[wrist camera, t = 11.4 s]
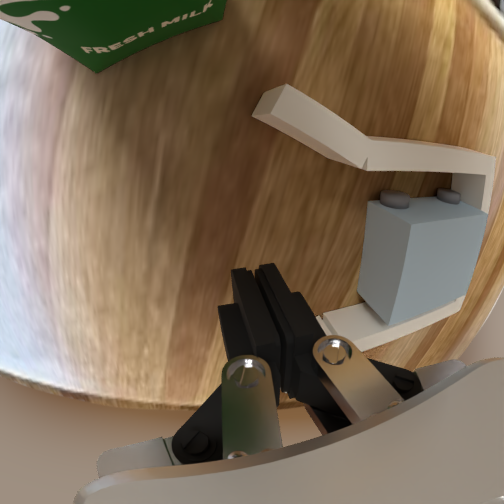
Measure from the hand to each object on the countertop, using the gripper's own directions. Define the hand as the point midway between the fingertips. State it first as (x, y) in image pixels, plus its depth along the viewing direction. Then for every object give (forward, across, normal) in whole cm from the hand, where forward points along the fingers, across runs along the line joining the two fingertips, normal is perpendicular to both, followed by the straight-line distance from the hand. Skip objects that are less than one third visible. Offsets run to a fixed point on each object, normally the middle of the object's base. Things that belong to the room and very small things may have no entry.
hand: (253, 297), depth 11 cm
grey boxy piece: (+6, -14, +2) cm, 15 cm away
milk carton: (+6, +4, -14) cm, 16 cm away
